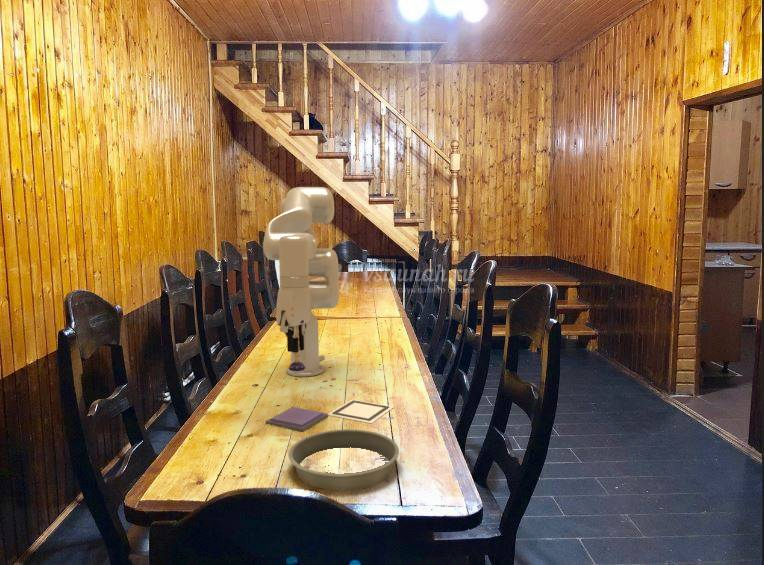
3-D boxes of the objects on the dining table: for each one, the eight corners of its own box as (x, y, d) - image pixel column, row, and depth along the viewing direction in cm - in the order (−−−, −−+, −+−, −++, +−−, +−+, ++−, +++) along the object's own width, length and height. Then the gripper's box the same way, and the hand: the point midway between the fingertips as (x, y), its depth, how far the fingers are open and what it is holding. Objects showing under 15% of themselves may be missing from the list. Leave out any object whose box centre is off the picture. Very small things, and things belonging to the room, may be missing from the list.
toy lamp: (287, 371, 160) (287, 309, 158) (285, 367, 164) (285, 306, 163) (306, 370, 161) (306, 308, 159) (303, 366, 166) (303, 305, 164)
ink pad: (292, 409, 173) (292, 405, 173) (328, 416, 168) (327, 411, 168) (265, 423, 163) (265, 418, 162) (303, 431, 157) (303, 426, 157)
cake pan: (320, 440, 152) (320, 423, 152) (413, 455, 144) (413, 437, 143) (267, 483, 130) (266, 463, 129) (374, 504, 121) (374, 482, 120)
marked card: (352, 400, 181) (352, 398, 181) (394, 407, 175) (394, 406, 175) (326, 415, 169) (326, 413, 169) (371, 423, 163) (371, 422, 163)
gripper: (299, 277, 168) (301, 342, 171) (264, 285, 154) (266, 356, 157) (322, 279, 165) (323, 345, 168) (288, 287, 151) (289, 359, 154)
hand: (295, 350), depth 162 cm, fingers closed on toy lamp
